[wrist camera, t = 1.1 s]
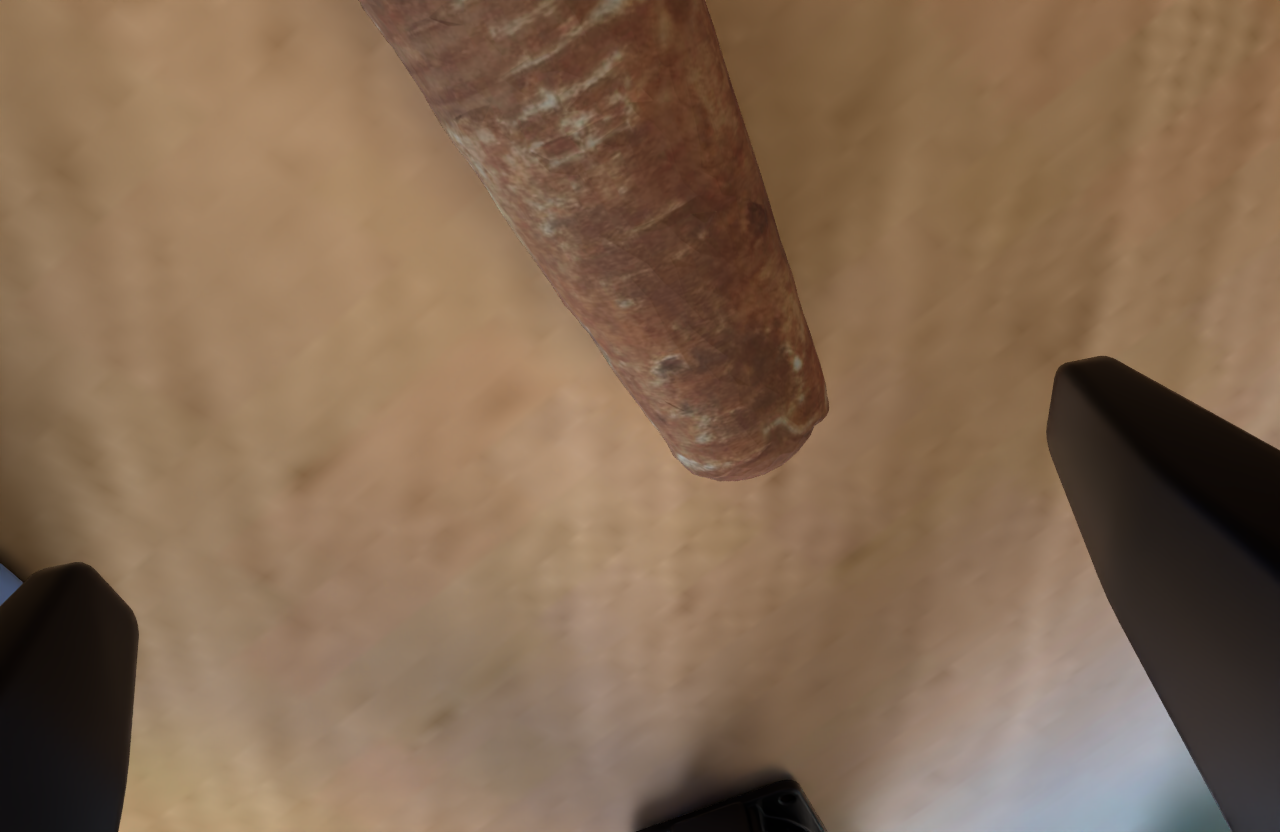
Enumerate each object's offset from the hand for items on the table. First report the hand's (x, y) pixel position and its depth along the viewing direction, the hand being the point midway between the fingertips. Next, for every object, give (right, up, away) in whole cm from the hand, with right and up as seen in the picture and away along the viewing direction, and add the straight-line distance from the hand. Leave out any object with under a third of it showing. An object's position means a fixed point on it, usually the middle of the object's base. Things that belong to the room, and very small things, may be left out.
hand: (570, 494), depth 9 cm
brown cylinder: (0, +8, +12) cm, 15 cm away
